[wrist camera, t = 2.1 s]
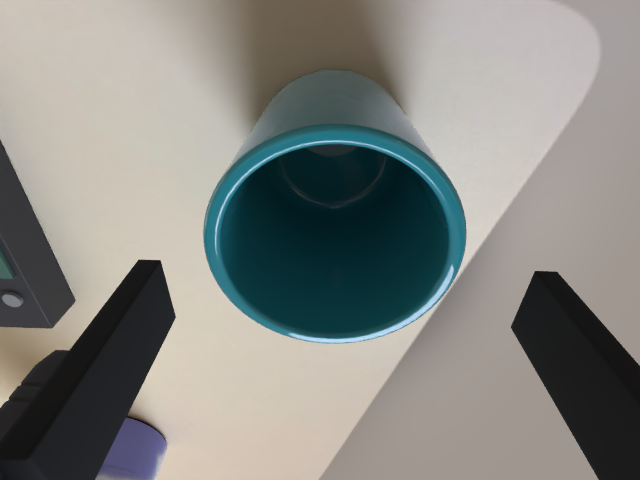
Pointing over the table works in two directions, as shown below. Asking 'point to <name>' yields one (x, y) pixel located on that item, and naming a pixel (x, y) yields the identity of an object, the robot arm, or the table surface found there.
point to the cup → (334, 215)
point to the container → (134, 453)
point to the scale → (26, 261)
